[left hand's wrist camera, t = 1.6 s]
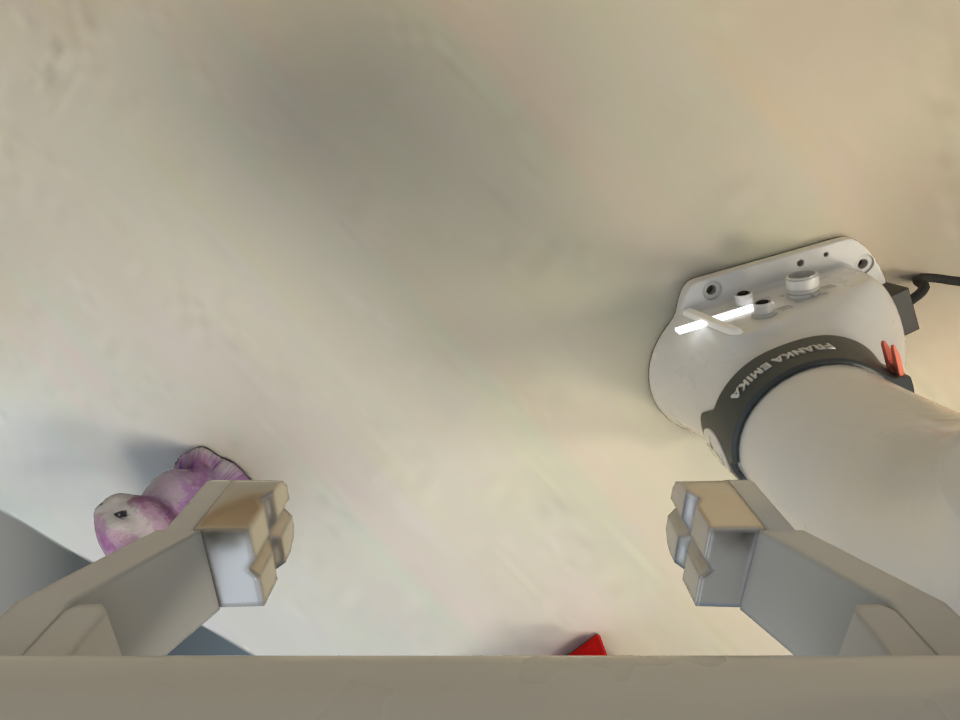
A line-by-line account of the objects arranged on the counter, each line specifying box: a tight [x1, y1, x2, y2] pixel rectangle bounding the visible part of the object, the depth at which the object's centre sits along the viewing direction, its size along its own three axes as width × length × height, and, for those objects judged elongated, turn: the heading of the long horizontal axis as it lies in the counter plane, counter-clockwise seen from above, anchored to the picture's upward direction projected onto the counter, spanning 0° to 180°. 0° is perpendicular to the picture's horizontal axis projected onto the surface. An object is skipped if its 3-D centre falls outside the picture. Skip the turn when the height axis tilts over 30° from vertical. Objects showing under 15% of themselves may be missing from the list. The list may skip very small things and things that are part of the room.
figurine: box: [94, 447, 250, 556], centre depth 45 cm, size 9×10×15 cm
